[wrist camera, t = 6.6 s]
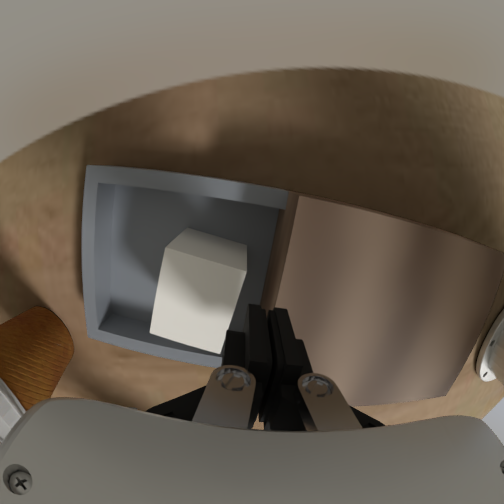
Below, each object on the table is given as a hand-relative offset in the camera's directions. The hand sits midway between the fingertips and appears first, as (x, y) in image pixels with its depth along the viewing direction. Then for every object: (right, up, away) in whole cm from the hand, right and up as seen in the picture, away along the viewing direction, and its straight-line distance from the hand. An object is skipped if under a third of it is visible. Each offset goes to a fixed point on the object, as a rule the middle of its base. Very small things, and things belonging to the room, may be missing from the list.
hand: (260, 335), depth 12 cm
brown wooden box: (+8, +1, +8) cm, 12 cm away
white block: (-1, +1, +5) cm, 5 cm away
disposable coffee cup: (-20, -4, +9) cm, 22 cm away
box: (-5, +3, +7) cm, 9 cm away
